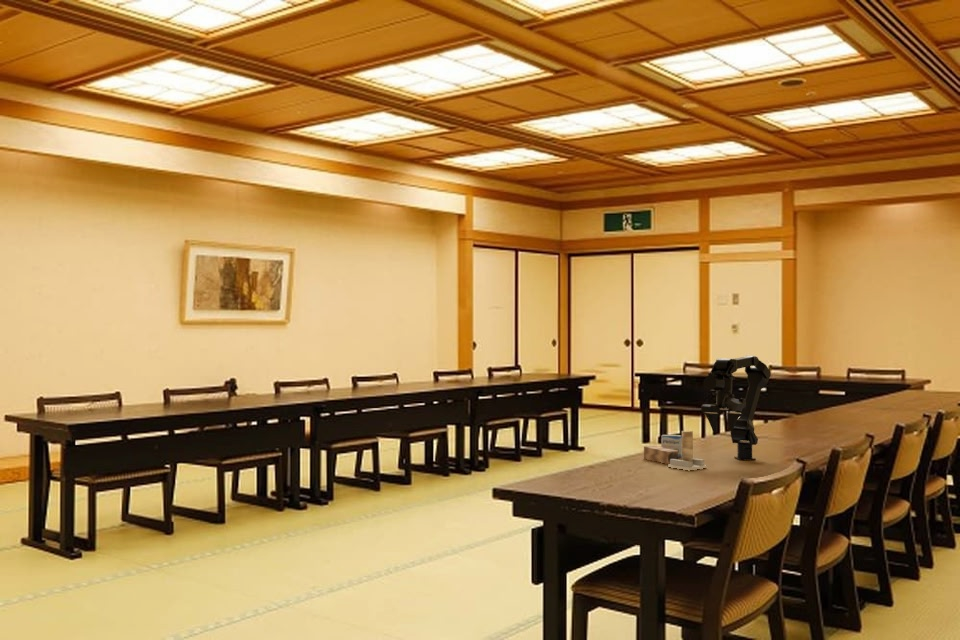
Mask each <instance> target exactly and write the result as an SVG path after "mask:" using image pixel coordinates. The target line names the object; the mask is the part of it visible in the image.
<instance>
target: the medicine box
mask: <svg viewBox="0 0 960 640" xmlns="http://www.w3.org/2000/svg"><path fill="white" fill-rule="evenodd" d="M660 442H661V446H660V447H662V448H667V449H672V450H676V451H678V454H679V458H682V434H681V435H678V434H677V435H676V434H662V435H661V441H660Z"/></svg>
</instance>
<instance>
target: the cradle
mask: <svg viewBox="0 0 960 640" xmlns="http://www.w3.org/2000/svg"><path fill="white" fill-rule="evenodd" d="M668 467H671V468H670V469H673V468H677V469H676V470H679V469H683V470H682V471H685V470H688V471H687V472H691V471H690V470H694V471H698V470H697V469H700V470H704V469H703V468H707V465H706V464H705V459H701V458H694V457H693V465H692V462H690V461H684V460H682V459H679V460H677V459H670V464H668V465H667V468H668Z"/></svg>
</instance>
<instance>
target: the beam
mask: <svg viewBox="0 0 960 640" xmlns="http://www.w3.org/2000/svg"><path fill="white" fill-rule="evenodd" d="M679 458H680V457H679V454H678V451H676V450H672V449H667V448H662V447H661V446H657V445H645V446H644V445H643V459H644V460H646V459H647V461H650V460H652V461H651V462H654V461H657V462H656V463H658V462H661V463H660V464H662V463H665V464H664V465H667V464H670V459H677V460H680V459H679Z"/></svg>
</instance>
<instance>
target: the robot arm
mask: <svg viewBox="0 0 960 640" xmlns="http://www.w3.org/2000/svg"><path fill="white" fill-rule="evenodd" d="M738 369H744V373H745V374H746V375H747V377H746V380H747V383H748V389H747V391H746V395H745V398H742V397H741V398H739V399H738V398H735V394H734V393H733V380H735V379H736V377H735V376H734V375H733V373H736V372H737V371H738ZM771 373H772V372H771V371H770V368H769V367H768V365H766V364H765V363H764V362H763V361H761V360H760V359H759V357H757V356H756V355H745V356H743V357H742V356H741V357H735V358H722V357H721V358H717V359H716V360H715V362H714V363H713V365H712V367H711V370H710V372H708V373H707V376H705V378H704V379H703V383H702V385H703V387H704V388H705V389H706V390H707V391H713V392H714V391H716V392H714V393H713V396H715V397H716V398H715V399H716V400H715V401H716V403H715V402H714V403H713V404H706V403H705V404H702V405H701V406H700V407H701V408H700V411H701V412H703V414H704V415H705V417H706V420H707V421H708V423H709V425H710V427H711V429H712V432H716V430H717V422H718V417H719V416H720V413H719V412H727V421H728V428H729V432H730V438H731V442H732V444H736V447H737V449H736V450H737V451H736V452H737V455H736V456H734V457H733V459H737V460H739V461H756V460H757V458H755V457H753V446H756V445H757V444H758V440H759V438H758V436H757V434H756V433H755V426H754V422H753V420H754V416H755V413H756V410H757V406H758V402H759V399H760V395H761V392H762V390H763V388H765V386H766V385H768V382H769V380H770V379H771V378H770V377H771V375H772V374H771Z"/></svg>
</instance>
